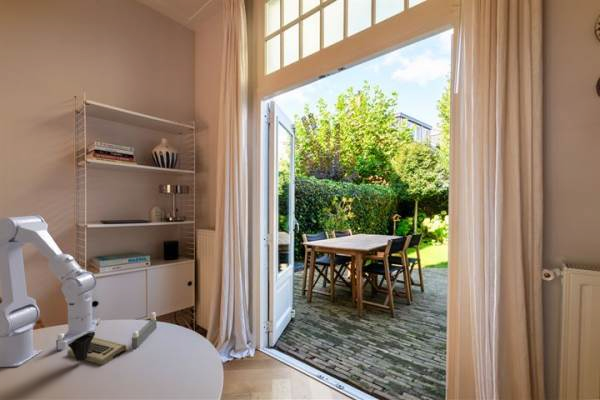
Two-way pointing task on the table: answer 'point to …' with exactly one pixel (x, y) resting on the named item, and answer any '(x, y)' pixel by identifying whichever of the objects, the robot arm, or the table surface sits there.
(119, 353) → the computer
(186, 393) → the table surface
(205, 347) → the table surface
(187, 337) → the table surface
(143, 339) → the dock
